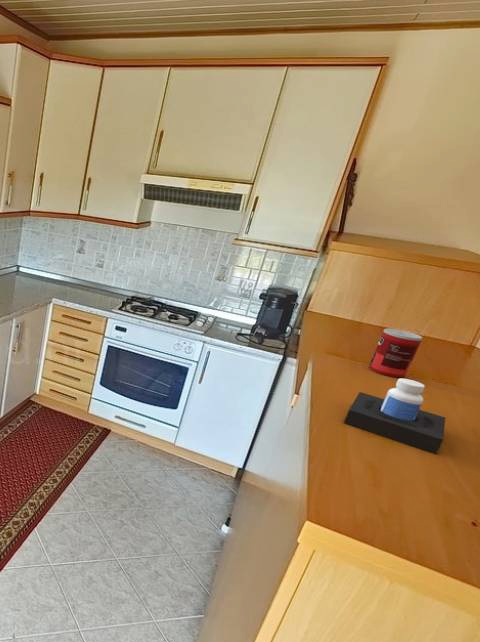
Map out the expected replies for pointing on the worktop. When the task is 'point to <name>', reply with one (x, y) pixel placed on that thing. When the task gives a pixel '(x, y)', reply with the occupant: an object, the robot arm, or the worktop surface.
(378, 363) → the canned food
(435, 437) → the socket pad
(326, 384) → the worktop surface
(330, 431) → the worktop surface
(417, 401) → the pill bottle
